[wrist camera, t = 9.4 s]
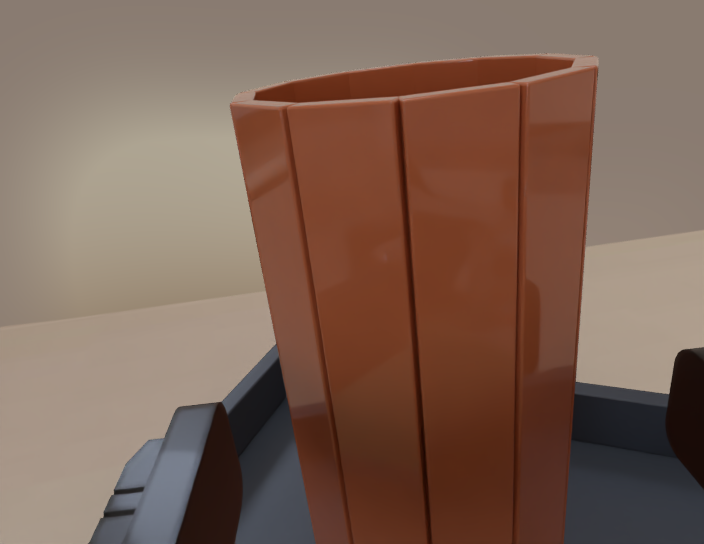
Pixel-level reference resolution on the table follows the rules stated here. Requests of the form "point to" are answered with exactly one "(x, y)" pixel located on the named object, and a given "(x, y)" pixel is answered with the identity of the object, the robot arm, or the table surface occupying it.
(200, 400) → the table surface
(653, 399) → the tray
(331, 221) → the tumbler
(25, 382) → the table surface
